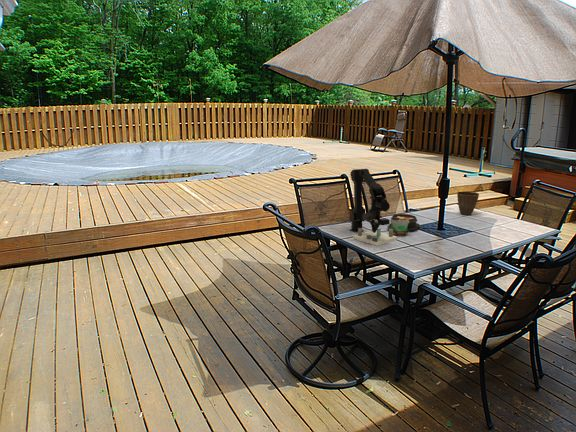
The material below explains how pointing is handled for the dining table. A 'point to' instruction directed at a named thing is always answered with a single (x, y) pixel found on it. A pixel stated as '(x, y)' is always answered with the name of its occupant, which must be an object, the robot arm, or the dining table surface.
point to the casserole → (412, 219)
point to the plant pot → (467, 202)
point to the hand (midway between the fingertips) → (374, 232)
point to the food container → (399, 227)
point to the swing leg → (375, 236)
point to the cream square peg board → (375, 241)
